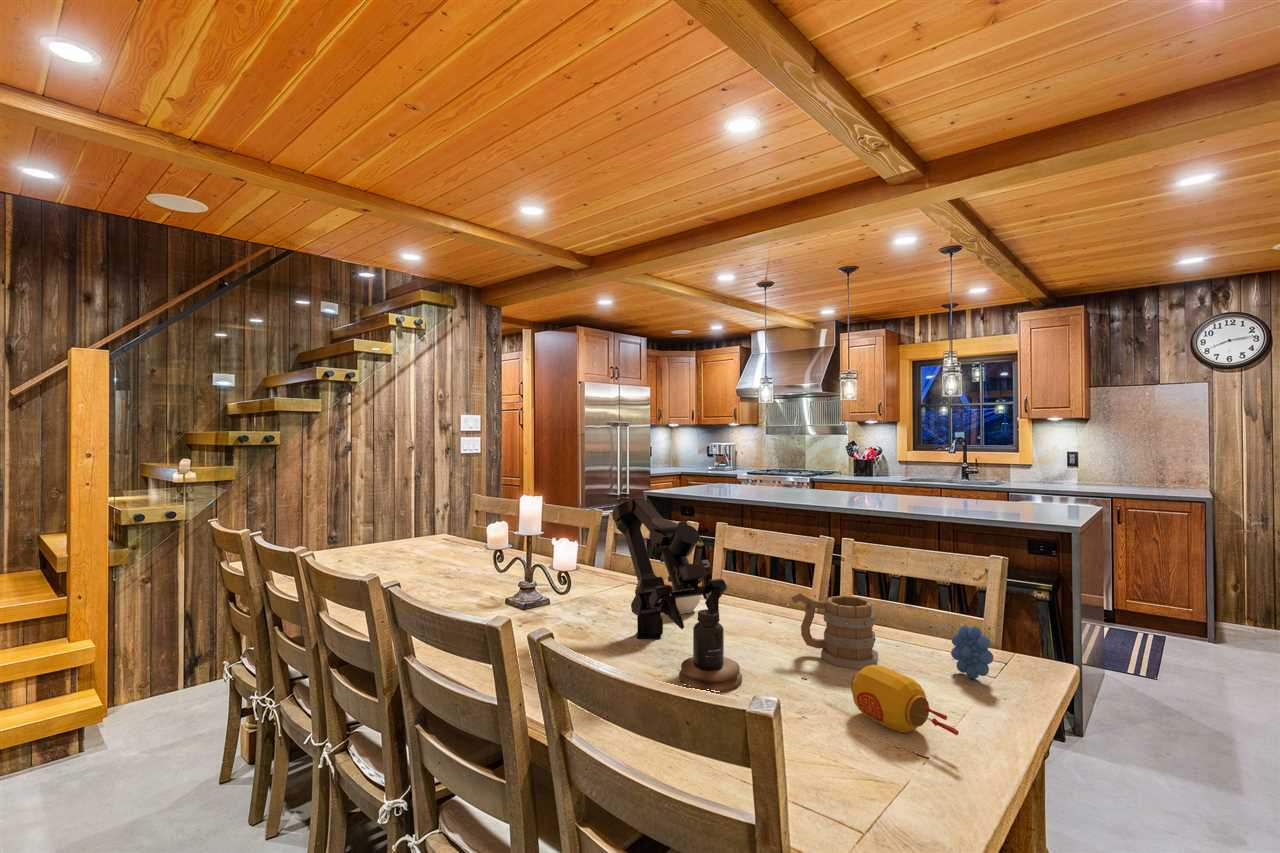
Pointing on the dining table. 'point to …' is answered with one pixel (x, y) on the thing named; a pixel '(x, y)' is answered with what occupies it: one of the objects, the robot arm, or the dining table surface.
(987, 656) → the grapes
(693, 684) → the pedestal stand
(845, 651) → the tankard
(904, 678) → the lantern
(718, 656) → the supplement bottle
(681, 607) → the lidded bowl
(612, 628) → the dining table surface
